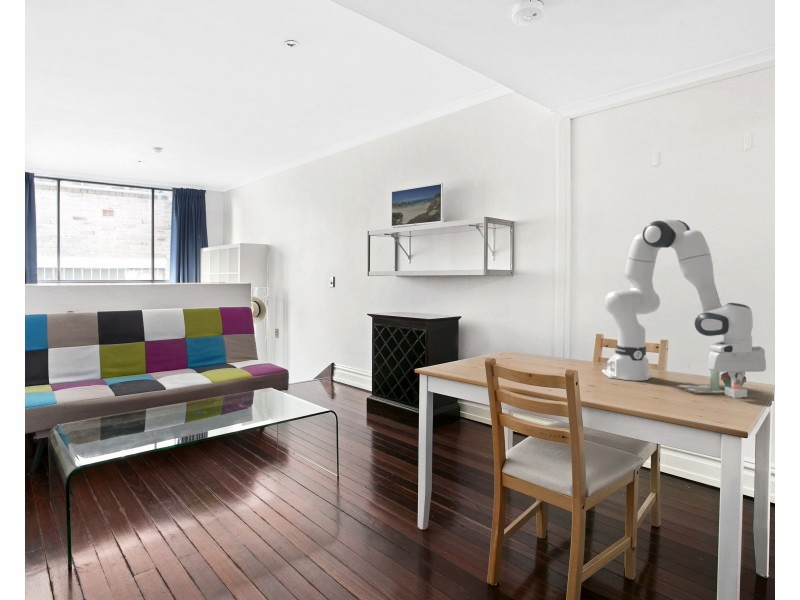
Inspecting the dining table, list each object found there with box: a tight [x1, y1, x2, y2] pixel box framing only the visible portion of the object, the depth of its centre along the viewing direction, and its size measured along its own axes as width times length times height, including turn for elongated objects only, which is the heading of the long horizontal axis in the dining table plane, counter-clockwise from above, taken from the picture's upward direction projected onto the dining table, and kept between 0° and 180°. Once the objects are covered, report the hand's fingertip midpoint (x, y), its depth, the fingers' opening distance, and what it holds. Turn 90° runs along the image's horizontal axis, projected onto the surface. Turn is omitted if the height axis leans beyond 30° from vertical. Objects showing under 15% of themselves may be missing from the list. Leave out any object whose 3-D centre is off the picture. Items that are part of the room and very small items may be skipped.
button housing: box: [723, 386, 748, 399], centre depth 183 cm, size 5×5×3 cm
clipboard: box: [674, 382, 725, 395], centre depth 193 cm, size 15×14×1 cm
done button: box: [731, 383, 742, 389], centre depth 183 cm, size 3×3×4 cm
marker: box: [710, 371, 721, 391], centre depth 189 cm, size 3×3×12 cm
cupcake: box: [720, 372, 747, 388], centre depth 194 cm, size 9×8×12 cm
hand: (736, 383), depth 183 cm, fingers closed, pressing on done button
